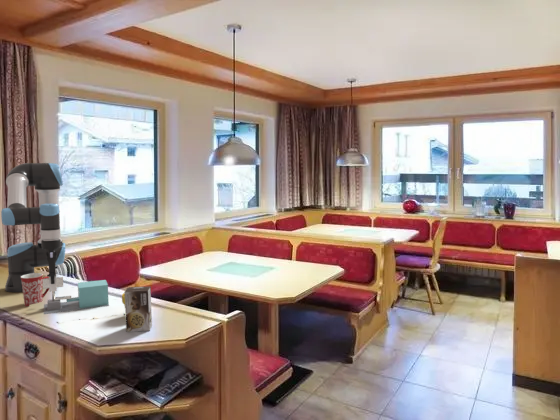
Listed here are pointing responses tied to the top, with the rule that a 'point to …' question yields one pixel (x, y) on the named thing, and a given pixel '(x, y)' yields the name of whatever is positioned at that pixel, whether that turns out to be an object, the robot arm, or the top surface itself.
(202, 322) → the top surface
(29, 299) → the mug
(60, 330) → the top surface
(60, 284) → the grey flat angled piece
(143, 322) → the cookie box
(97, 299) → the cover
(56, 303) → the housing
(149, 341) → the top surface
